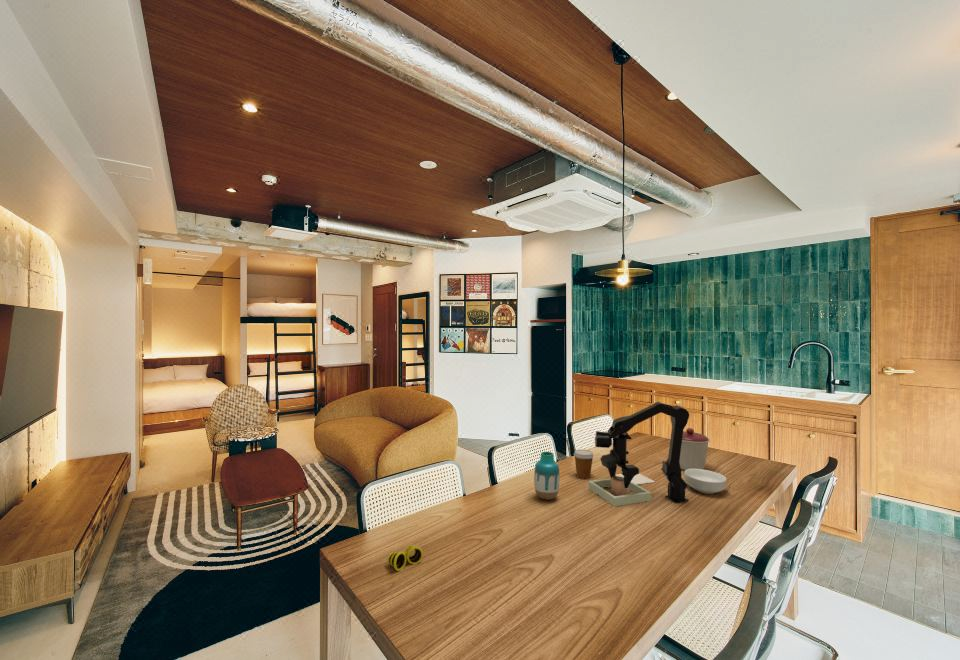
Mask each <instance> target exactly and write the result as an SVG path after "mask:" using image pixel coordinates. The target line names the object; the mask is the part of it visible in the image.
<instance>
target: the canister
mask: <svg viewBox="0 0 960 660" xmlns="http://www.w3.org/2000/svg"><path fill="white" fill-rule="evenodd" d="M709 442H711V439H710V438H709V437H707V436H706V435H704V434H702V433H698V432H695V430H694V429H693V428H690V427H689V428H686V431H684V430H683V437H682V445H681V453H680V461H679V462H680V467H681V470H682V471H685V470H687V469H703V470H705V466H706V461H707V454H708V447H709Z"/></svg>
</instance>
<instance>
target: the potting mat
mask: <svg viewBox="0 0 960 660" xmlns="http://www.w3.org/2000/svg"><path fill="white" fill-rule="evenodd" d="M615 475H616V476H620V477H624V476H623V475H622V474H621V473H618V474H617V473H615ZM631 482H633V483H635V484H636V485H638V484H642V485H647V484H646V483H649V484H655V483H656V481H655V480H653V479H651V478H649V477H647V476H645V475H643V474H642V473H639V474H637V475H635V476H634V477H633V479H632V480H631ZM654 482H655V483H654ZM638 486H639V485H638Z"/></svg>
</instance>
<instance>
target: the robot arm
mask: <svg viewBox="0 0 960 660" xmlns="http://www.w3.org/2000/svg"><path fill="white" fill-rule="evenodd" d="M658 414H663V415H666V416H669V417H670V422H671V423H670V424H671V432H670V439H669V440H670V441H669V449H668V457H667V460H665V461H664V460H662V466H661V469H660V470H661V471H662V474H663V476H664V477H665V478H666V479H667V481H668V484H667V495H665V496H664V498H667V499H669V500H670V501H672V502H674V503H676V504H678V503H679V504H680V503H683V502H684V503H685V502H689V499H688V498H686V489H687V487H688V483H687V482H686V480H685V479H683V478H682V469H681V467H680V462H679V461H680V453H681V445H682V437H683V431H684V430H685V427H686V426H687V424H688V421H689V418H690V413H689V411H688V410H687V409H686V408H684V406H683V407H682V406H680V405H671V404H665V403H662V402H660V401H656V402H654V403H653V404H651V405H649V406H646V407H645V408H643V409H641V410H639V411H638V410H637V412H634V413H633V414H632V413H631V415H625V416H621V417H617V418H615V419H614V420H612V423H611V426H610V427H609V428H608V430H607V431H598V430H596V431H595V437H594V446H595V448H602V449H603V448H604V449H605V448H606V449H609V448H610V447H612V449H610V451H609V453H608V454H603V455H602V456H601V457H600V462H601V465H602V466H603V467H604V468H606V469H607V470H608V473H609V476H610V477H609V478H611V477H613V476H615V475H616V474H617V473H616V472H617V468H618V467H619V468H621V473H620V474H622V475H623V476H624V486H625V488H628V486H629V484H630V482H631V480H632V479H633V477H634V476H635V475H637V474H640V469H639V467H638V466H635V465H634V464H629V462H630V461H629V460H627V455H629V453H630V452H629V451H628V450H627V449H628V448H627V447H628V445H627V444H628V443H627V441H628V440H632V436H630V435H629V431H631V430H632V428H634V427H635V426H636V425H638V424H640V423H642V422H644V421H646V420H649V419H650V418H652V417H655V416H656V415H658Z"/></svg>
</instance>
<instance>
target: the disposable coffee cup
mask: <svg viewBox="0 0 960 660" xmlns="http://www.w3.org/2000/svg"><path fill="white" fill-rule="evenodd" d="M573 456H574V462H575V471H576V473H575V474H576V477H577V476H578V477H577V478H579V477H581V478H580V479H582V478H588V479H590V478H589V477H591V473H592V466H593V458H594V456H595V455H594V453H593V451H591V450H588V449H582V448H581V449H575V450H574V453H573Z"/></svg>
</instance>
